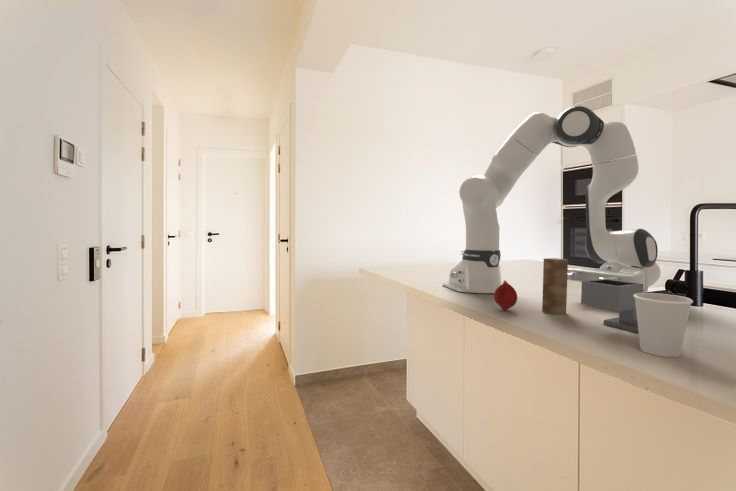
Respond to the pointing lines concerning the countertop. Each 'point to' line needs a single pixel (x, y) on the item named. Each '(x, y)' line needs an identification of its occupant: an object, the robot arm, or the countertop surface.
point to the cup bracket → (613, 300)
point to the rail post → (555, 285)
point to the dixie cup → (662, 322)
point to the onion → (505, 296)
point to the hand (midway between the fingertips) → (584, 279)
